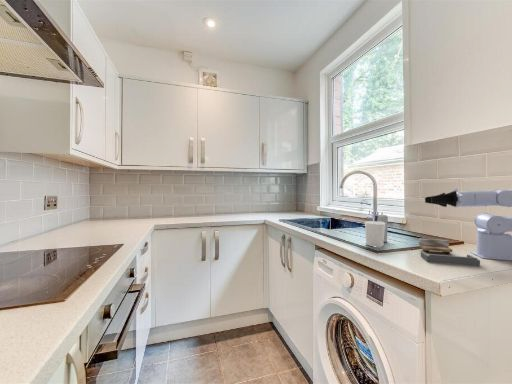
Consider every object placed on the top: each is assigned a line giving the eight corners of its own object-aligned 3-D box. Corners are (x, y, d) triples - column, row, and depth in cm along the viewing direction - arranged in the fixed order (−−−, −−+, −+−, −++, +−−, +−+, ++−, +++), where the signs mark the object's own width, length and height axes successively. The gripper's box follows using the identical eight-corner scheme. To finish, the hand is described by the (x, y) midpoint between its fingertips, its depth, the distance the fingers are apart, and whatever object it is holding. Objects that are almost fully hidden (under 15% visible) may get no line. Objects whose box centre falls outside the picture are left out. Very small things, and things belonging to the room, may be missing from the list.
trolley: (447, 251, 96) (448, 240, 96) (453, 255, 91) (454, 243, 91) (418, 249, 99) (418, 238, 99) (422, 252, 94) (423, 241, 94)
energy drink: (371, 240, 115) (372, 214, 115) (380, 239, 117) (380, 214, 117) (380, 242, 110) (381, 216, 110) (389, 241, 112) (390, 215, 112)
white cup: (360, 244, 107) (361, 221, 106) (372, 242, 111) (372, 220, 110) (377, 248, 100) (377, 224, 100) (388, 246, 104) (389, 223, 103)
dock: (463, 256, 90) (463, 249, 89) (479, 266, 79) (480, 258, 79) (416, 253, 94) (416, 246, 94) (426, 261, 84) (427, 254, 84)
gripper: (461, 189, 98) (422, 190, 103) (480, 186, 85) (434, 188, 89) (462, 207, 98) (423, 207, 103) (482, 206, 84) (435, 207, 89)
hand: (428, 199), depth 96 cm, fingers open, 7 cm apart
